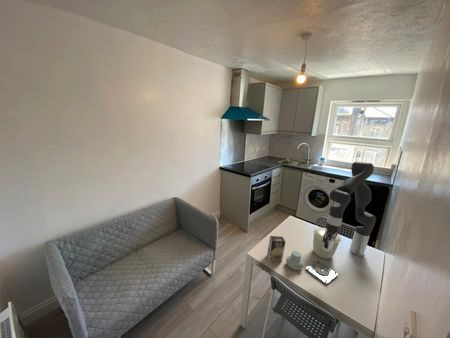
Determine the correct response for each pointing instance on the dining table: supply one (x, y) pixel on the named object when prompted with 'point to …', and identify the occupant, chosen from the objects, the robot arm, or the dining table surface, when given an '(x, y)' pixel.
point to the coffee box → (276, 248)
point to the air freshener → (295, 261)
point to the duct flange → (322, 272)
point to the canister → (319, 243)
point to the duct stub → (330, 245)
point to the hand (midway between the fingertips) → (327, 246)
